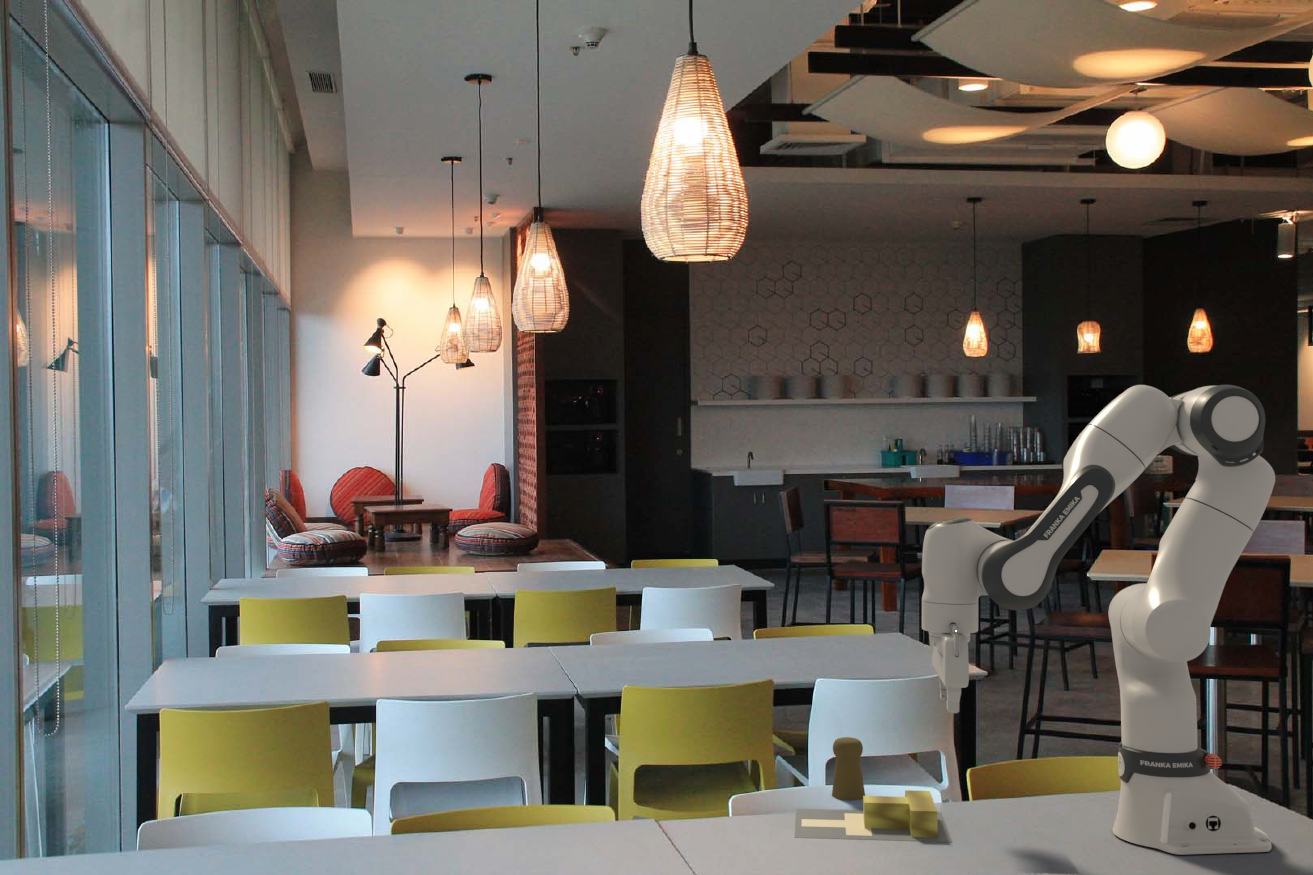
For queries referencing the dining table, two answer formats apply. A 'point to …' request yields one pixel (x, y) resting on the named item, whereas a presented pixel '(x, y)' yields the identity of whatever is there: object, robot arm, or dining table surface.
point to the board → (854, 827)
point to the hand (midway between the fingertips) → (949, 706)
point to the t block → (902, 813)
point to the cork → (848, 769)
